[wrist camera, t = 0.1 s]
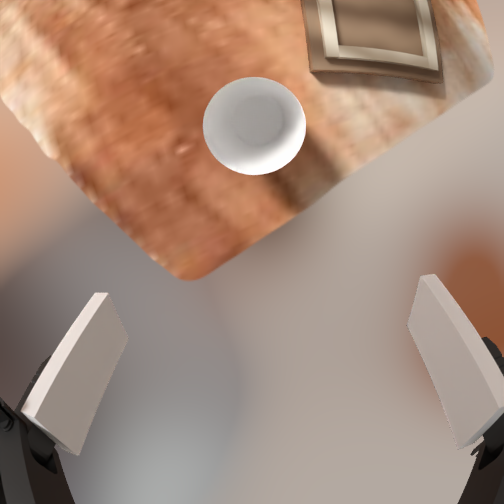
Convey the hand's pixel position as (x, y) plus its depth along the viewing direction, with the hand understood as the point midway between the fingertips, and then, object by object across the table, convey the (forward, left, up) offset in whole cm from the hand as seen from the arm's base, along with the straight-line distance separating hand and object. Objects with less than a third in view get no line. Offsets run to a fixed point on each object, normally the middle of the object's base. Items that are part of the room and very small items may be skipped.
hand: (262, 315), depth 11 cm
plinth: (-21, +16, -28) cm, 38 cm away
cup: (-6, 0, -28) cm, 29 cm away
